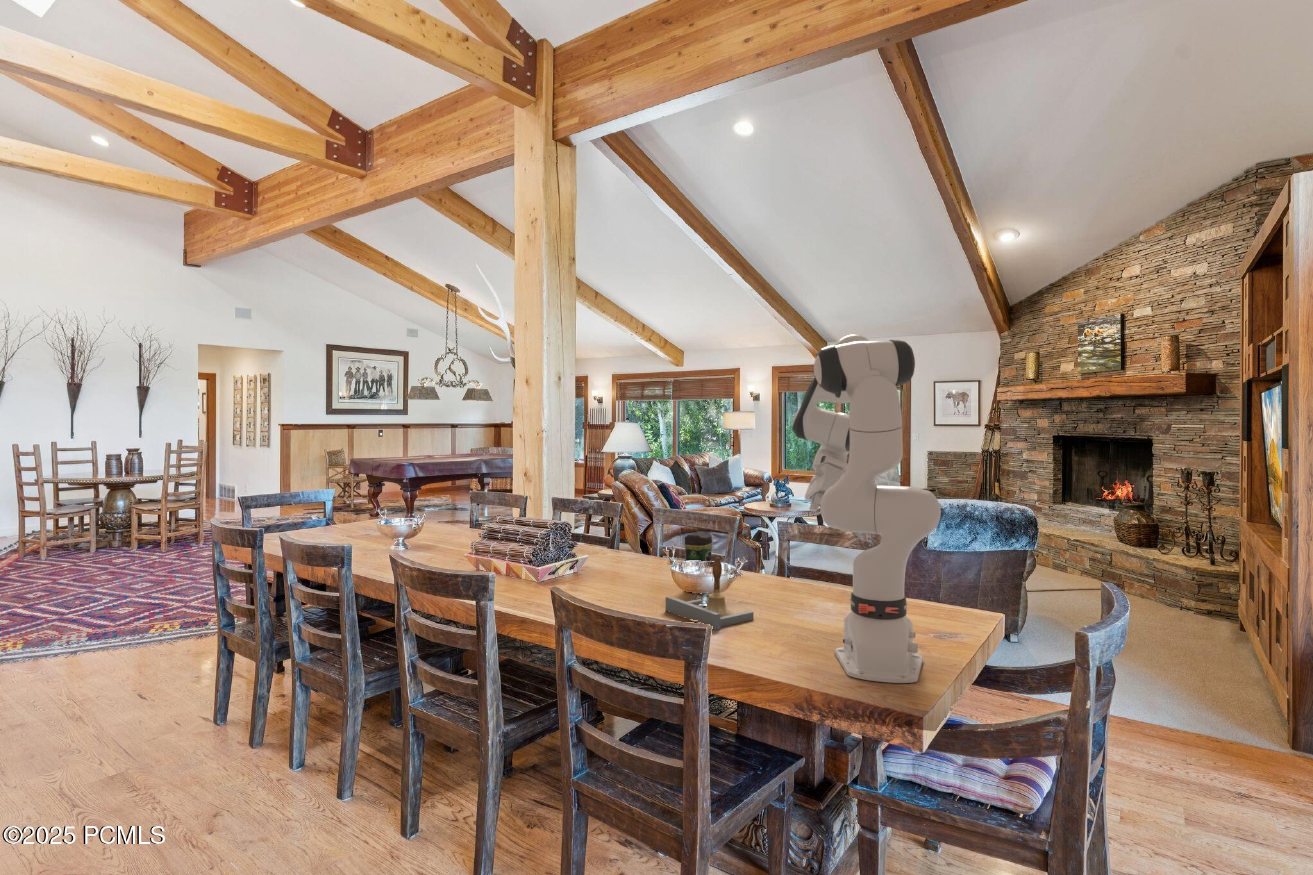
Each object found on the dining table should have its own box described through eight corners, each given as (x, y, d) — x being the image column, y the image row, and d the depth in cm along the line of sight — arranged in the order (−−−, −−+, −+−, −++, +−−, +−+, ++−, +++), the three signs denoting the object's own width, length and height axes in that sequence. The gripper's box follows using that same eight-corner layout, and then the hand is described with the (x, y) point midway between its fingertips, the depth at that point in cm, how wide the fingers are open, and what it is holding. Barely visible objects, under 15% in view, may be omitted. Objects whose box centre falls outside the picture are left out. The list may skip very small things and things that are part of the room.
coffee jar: (693, 584, 220) (693, 529, 220) (715, 587, 216) (715, 530, 216) (680, 591, 211) (680, 533, 211) (703, 594, 208) (703, 535, 207)
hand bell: (722, 609, 190) (722, 553, 190) (736, 616, 183) (736, 559, 182) (696, 612, 187) (696, 556, 187) (710, 620, 179) (710, 561, 179)
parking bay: (705, 603, 197) (705, 589, 197) (757, 620, 179) (757, 605, 179) (665, 610, 188) (665, 596, 188) (715, 630, 170) (715, 614, 170)
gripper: (808, 470, 203) (793, 511, 199) (828, 454, 183) (812, 499, 179) (827, 478, 202) (813, 519, 199) (850, 462, 183) (834, 508, 179)
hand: (813, 510), depth 189 cm, fingers closed
